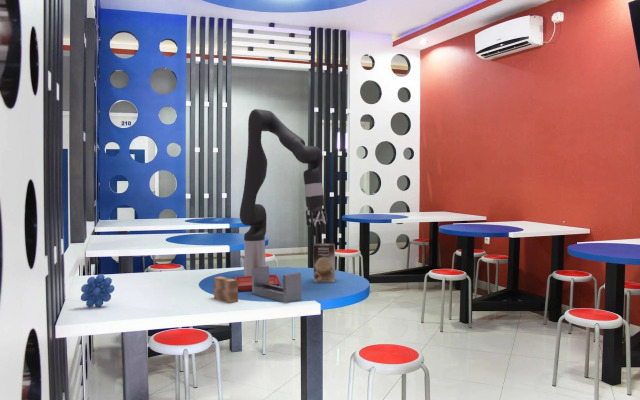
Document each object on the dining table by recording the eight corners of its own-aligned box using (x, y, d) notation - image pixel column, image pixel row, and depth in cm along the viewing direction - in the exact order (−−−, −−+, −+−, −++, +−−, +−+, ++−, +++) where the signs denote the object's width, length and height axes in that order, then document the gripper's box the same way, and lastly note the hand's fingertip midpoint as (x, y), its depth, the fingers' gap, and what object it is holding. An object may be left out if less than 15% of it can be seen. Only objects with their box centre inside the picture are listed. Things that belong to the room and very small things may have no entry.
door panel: (214, 298, 205) (213, 277, 205) (221, 296, 207) (220, 276, 207) (231, 303, 196) (230, 281, 196) (238, 301, 198) (237, 280, 198)
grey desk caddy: (252, 293, 210) (251, 268, 210) (267, 290, 215) (266, 266, 214) (286, 303, 194) (285, 275, 194) (301, 299, 199) (300, 272, 198)
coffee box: (313, 282, 229) (312, 245, 228) (314, 279, 235) (314, 243, 234) (334, 282, 228) (333, 245, 227) (335, 279, 234) (335, 243, 234)
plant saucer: (281, 290, 217) (281, 282, 217) (236, 293, 214) (235, 285, 214) (277, 281, 235) (276, 274, 235) (235, 284, 232) (235, 276, 231)
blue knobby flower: (117, 303, 199) (116, 271, 199) (113, 307, 193) (112, 274, 192) (84, 305, 197) (82, 273, 197) (79, 309, 191) (77, 276, 190)
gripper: (314, 195, 226) (318, 233, 226) (297, 196, 213) (302, 237, 213) (330, 193, 223) (334, 232, 223) (314, 194, 210) (319, 235, 210)
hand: (318, 234), depth 218 cm, fingers open, 8 cm apart
